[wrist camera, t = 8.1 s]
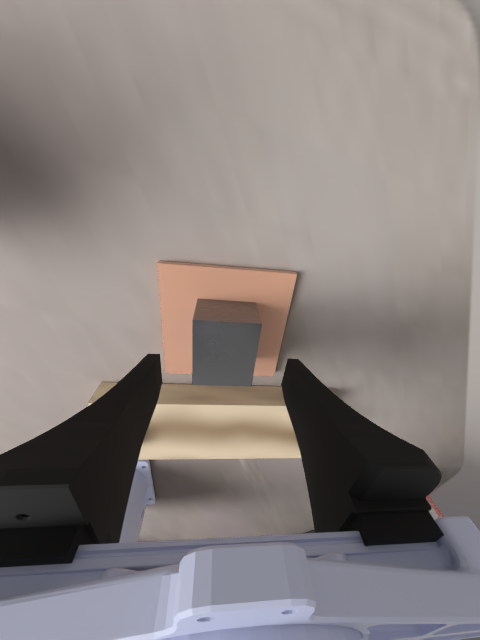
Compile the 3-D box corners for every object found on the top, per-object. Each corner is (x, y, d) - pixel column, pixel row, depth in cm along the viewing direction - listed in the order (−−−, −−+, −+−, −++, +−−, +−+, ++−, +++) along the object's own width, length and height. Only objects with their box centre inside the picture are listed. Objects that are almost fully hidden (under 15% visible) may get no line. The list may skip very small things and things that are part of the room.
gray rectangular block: (247, 358, 18) (251, 386, 16) (196, 356, 18) (192, 385, 15) (255, 302, 16) (262, 323, 13) (197, 298, 15) (192, 320, 13)
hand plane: (307, 437, 25) (321, 477, 22) (115, 437, 23) (96, 481, 19) (326, 387, 21) (347, 425, 18) (101, 382, 19) (74, 424, 16)
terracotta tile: (272, 371, 20) (274, 376, 19) (167, 368, 19) (165, 373, 18) (294, 271, 16) (297, 274, 15) (159, 260, 15) (156, 263, 14)
